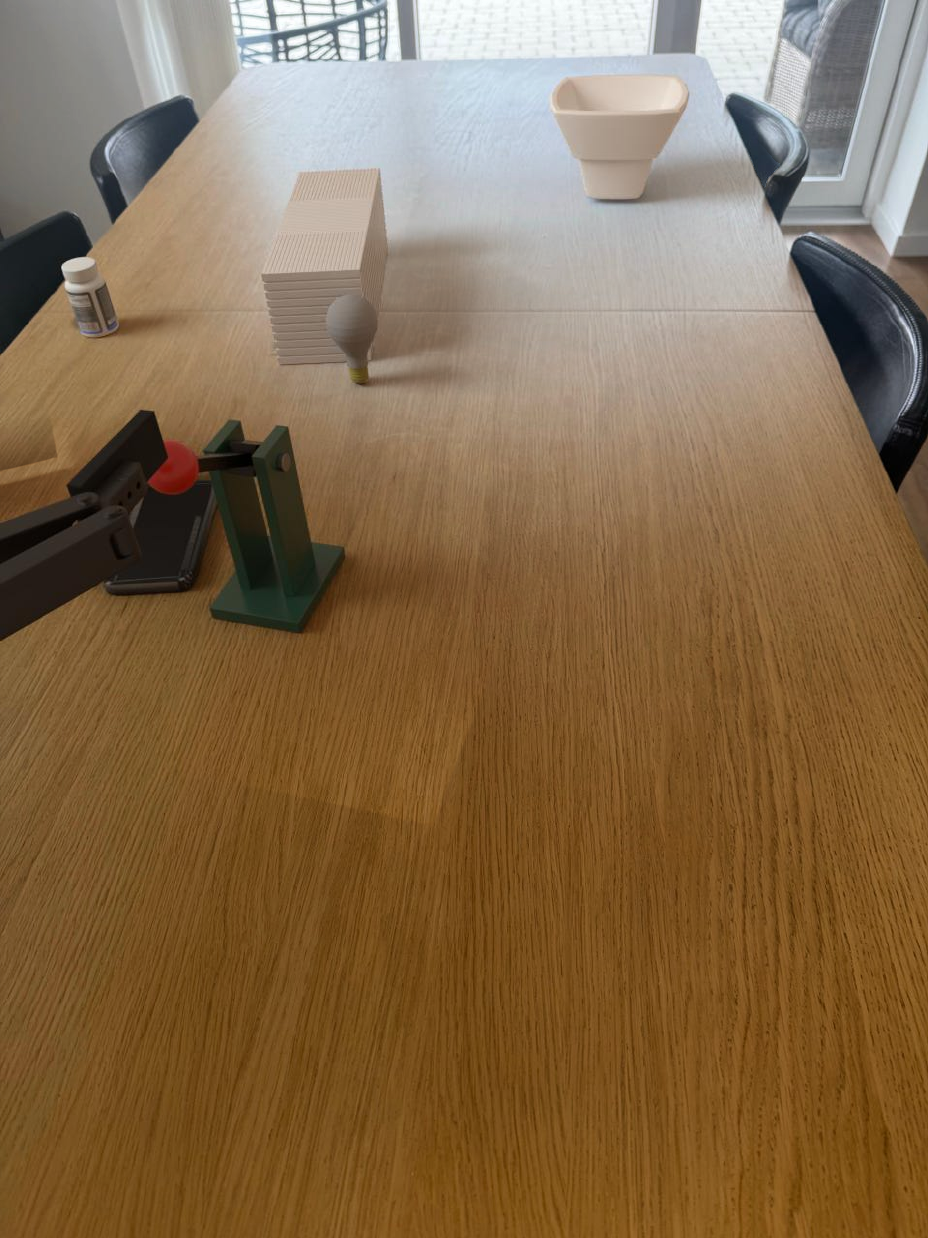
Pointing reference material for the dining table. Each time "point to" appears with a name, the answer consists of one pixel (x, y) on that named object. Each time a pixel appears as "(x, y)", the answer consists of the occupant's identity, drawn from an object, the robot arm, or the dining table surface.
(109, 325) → the pill bottle
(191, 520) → the phone
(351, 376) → the light bulb
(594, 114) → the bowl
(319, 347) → the beige tall block
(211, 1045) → the dining table surface
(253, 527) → the switch bracket
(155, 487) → the switch lever
